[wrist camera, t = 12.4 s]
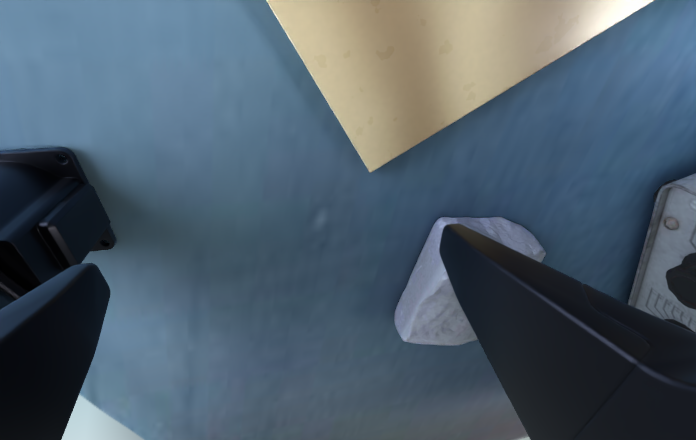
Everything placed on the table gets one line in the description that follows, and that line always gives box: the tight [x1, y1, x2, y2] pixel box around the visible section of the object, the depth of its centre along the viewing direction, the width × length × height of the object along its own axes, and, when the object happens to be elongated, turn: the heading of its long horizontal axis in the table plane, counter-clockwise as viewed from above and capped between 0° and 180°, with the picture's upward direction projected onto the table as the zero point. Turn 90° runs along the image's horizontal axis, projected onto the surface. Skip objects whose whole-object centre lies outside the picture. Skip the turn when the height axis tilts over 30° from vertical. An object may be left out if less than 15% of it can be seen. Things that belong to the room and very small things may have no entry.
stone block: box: [394, 217, 546, 346], centre depth 27 cm, size 12×5×10 cm
